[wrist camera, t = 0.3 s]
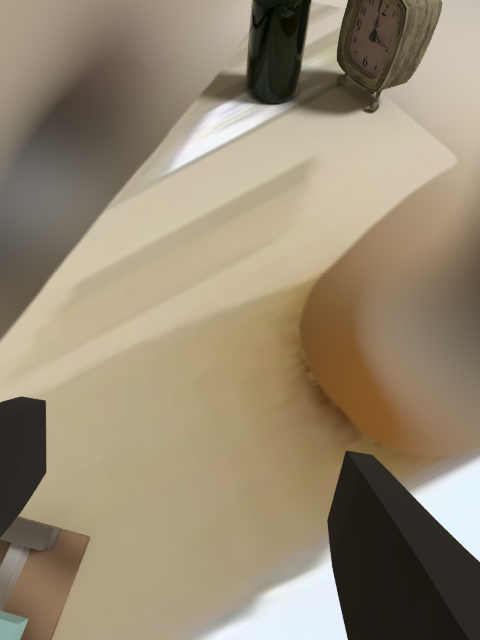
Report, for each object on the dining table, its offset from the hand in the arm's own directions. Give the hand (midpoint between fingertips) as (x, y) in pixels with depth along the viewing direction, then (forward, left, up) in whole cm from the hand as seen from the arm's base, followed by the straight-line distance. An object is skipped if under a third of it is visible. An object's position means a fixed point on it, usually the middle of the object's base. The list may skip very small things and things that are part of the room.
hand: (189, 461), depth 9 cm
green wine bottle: (+75, +8, -31) cm, 82 cm away
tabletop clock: (+80, -11, -31) cm, 87 cm away
